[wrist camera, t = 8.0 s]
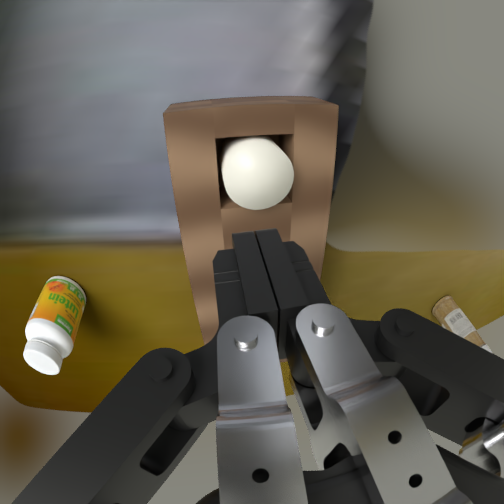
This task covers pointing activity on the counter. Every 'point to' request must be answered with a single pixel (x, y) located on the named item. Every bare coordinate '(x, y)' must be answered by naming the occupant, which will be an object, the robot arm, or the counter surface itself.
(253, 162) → the cream button
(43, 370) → the supplement bottle
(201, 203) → the button panel
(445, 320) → the sprinkles bottle
